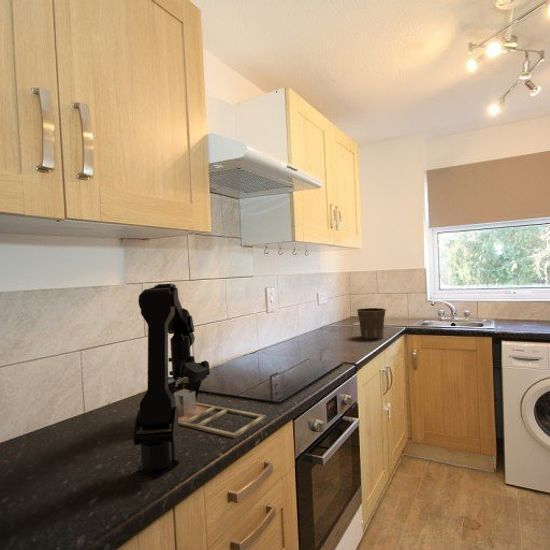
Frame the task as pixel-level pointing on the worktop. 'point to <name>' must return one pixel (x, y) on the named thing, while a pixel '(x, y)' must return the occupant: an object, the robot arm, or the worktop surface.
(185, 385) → the tape measure
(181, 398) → the metal block
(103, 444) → the worktop surface
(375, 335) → the plant pot
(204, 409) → the rectangular frame with crossbars
